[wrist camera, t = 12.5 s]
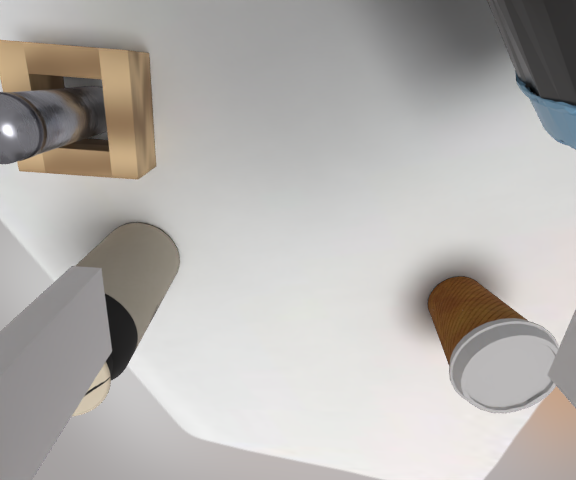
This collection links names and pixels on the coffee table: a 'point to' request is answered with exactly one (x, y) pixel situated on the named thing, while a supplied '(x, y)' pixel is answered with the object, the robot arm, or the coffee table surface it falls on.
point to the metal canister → (48, 120)
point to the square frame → (117, 99)
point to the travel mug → (129, 294)
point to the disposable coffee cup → (491, 347)
